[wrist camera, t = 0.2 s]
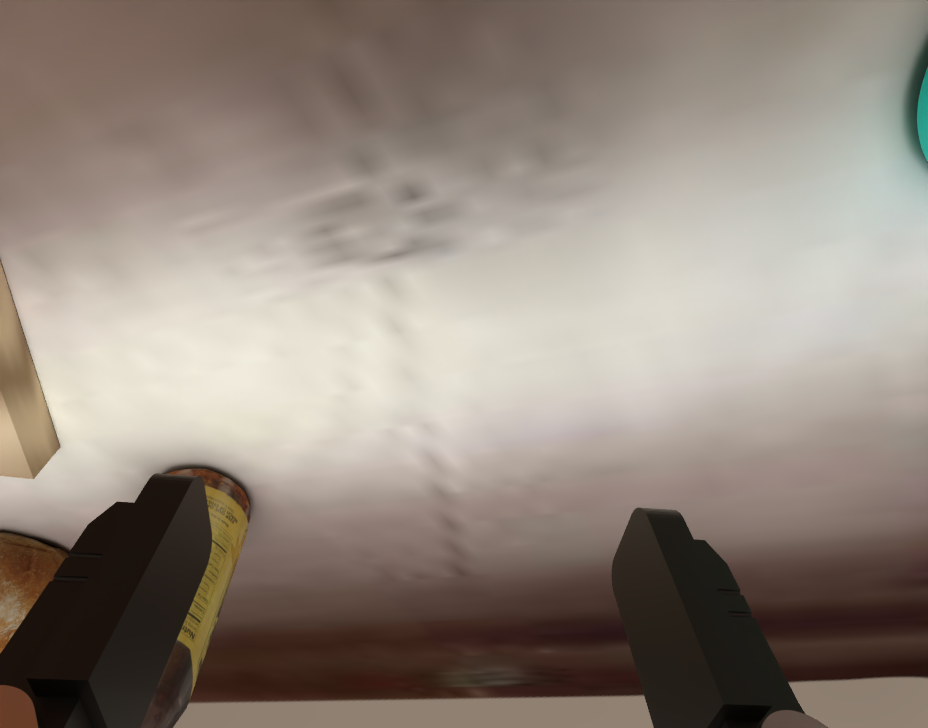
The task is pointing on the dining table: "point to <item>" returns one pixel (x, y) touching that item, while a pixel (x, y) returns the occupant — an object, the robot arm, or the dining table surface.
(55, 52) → the dining table surface
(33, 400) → the board
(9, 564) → the bread roll
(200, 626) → the sauce bottle
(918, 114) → the teal rounded shape
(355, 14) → the dining table surface
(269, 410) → the dining table surface
